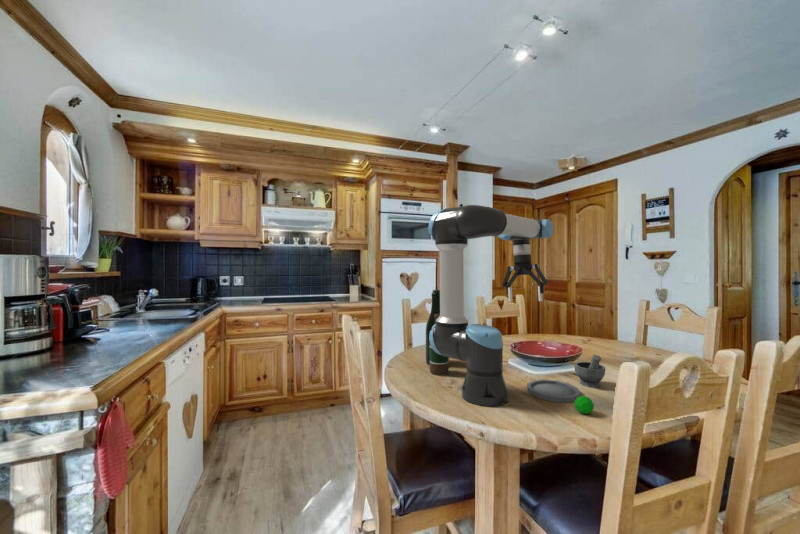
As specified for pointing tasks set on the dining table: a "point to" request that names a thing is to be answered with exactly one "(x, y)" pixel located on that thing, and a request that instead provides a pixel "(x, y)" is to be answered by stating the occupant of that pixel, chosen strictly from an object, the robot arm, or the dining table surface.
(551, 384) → the gray plate
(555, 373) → the dining table surface
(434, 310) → the wine bottle
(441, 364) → the beer bottle
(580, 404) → the polyhedron
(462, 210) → the robot arm
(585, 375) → the mortar and pestle
